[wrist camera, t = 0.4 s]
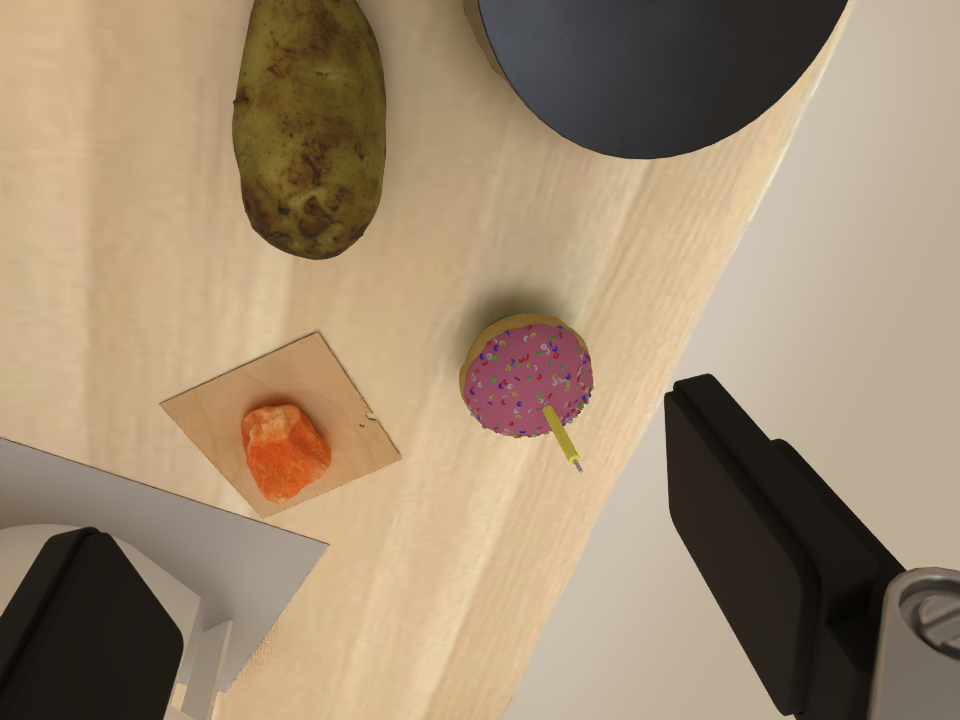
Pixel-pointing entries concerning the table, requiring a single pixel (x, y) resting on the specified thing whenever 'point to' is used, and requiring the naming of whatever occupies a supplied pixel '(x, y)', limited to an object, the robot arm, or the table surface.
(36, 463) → the architectural model
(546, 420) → the cupcake
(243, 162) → the potato
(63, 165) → the table surface
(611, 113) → the lid
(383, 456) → the orange food on napkin
